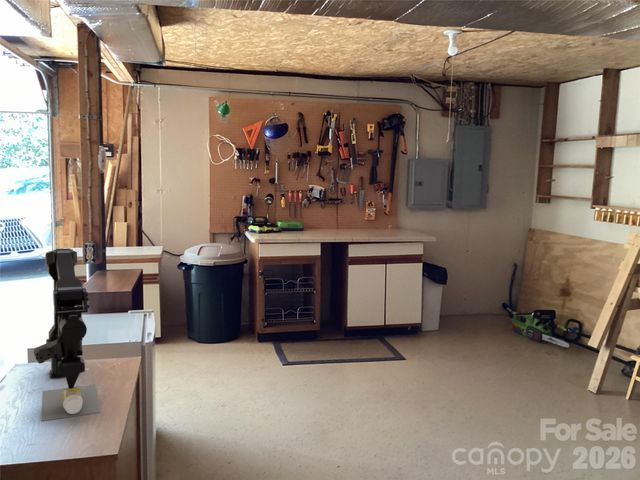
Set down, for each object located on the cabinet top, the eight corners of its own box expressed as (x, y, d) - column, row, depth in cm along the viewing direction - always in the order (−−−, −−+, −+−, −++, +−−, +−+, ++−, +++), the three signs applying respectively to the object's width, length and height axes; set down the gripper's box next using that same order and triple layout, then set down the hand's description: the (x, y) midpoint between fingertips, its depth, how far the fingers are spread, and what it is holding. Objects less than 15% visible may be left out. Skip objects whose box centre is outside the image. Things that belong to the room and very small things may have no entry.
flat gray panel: (42, 391, 151) (42, 391, 151) (95, 385, 158) (95, 384, 158) (41, 421, 134) (41, 420, 134) (100, 412, 140) (100, 411, 140)
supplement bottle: (71, 406, 145) (73, 419, 138) (57, 397, 143) (59, 409, 135) (84, 392, 146) (87, 404, 139) (71, 383, 144) (73, 394, 137)
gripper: (36, 324, 143) (37, 379, 145) (34, 345, 127) (35, 406, 128) (81, 321, 148) (81, 374, 150) (84, 340, 132) (85, 399, 133)
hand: (70, 388), depth 140 cm, fingers closed
